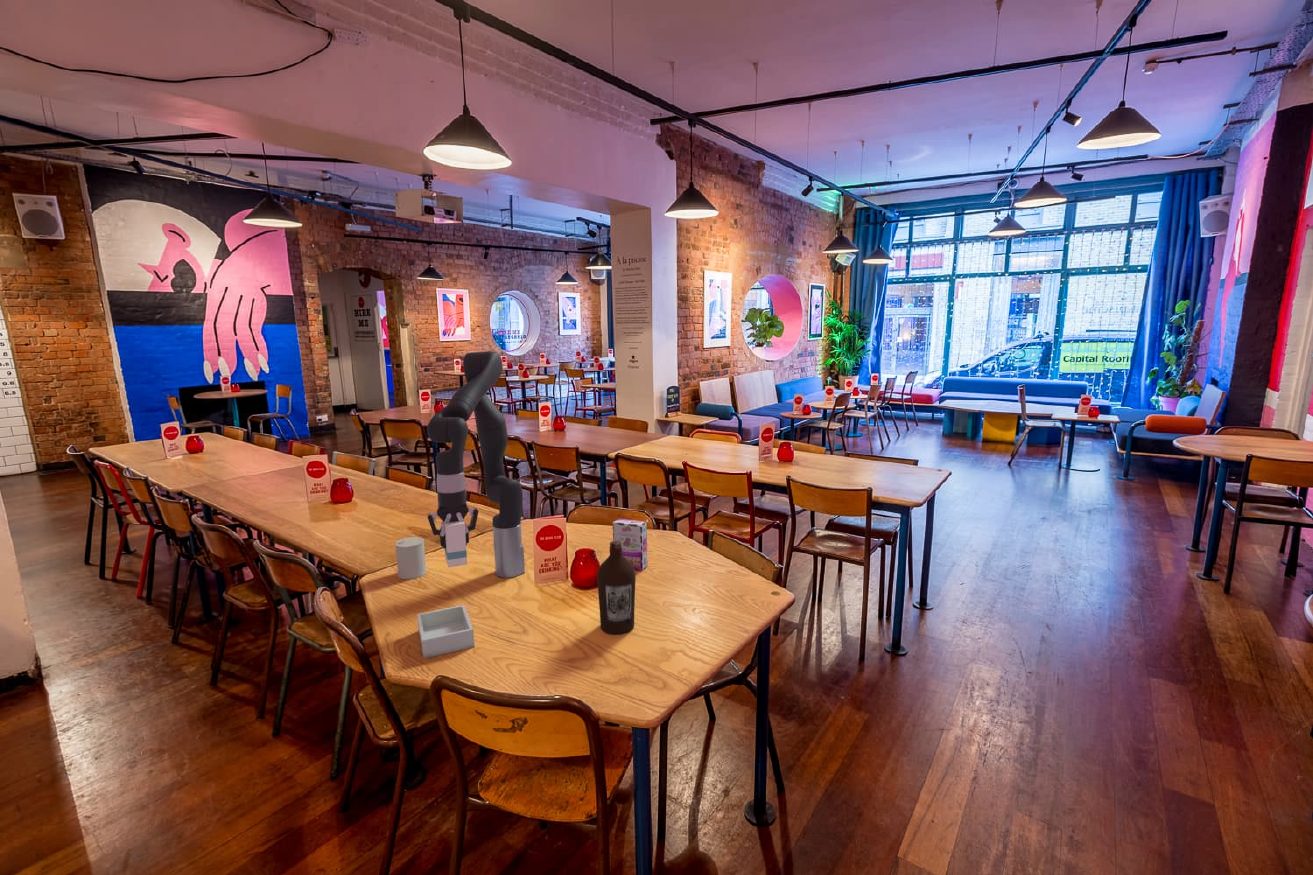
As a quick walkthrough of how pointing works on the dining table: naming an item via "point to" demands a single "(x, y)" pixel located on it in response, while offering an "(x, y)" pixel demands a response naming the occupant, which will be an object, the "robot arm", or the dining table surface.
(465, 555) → the carton
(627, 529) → the candy bar box
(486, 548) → the dining table surface
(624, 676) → the dining table surface
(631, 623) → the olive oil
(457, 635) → the tray
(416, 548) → the can
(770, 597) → the dining table surface
